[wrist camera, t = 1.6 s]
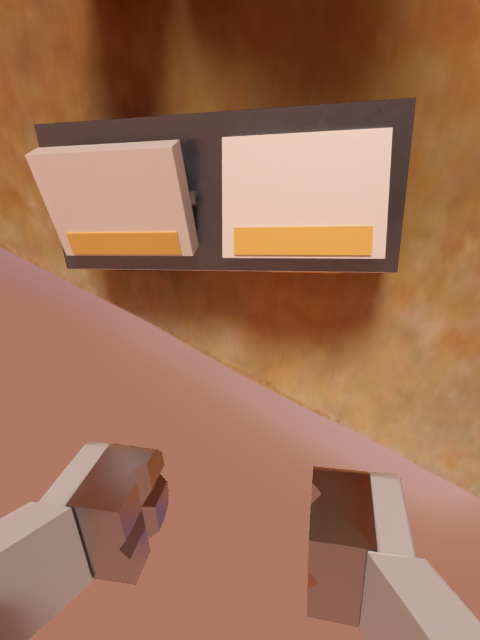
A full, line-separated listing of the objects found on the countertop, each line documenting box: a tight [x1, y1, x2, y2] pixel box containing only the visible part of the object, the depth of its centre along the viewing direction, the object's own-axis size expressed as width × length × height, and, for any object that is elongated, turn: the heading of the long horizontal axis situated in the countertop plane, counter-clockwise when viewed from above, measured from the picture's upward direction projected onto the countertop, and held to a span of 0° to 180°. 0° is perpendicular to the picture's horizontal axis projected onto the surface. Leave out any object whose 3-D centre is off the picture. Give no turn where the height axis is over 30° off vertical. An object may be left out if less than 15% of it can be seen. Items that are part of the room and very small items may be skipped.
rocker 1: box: [25, 140, 199, 256], centre depth 27 cm, size 10×7×2 cm
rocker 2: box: [222, 127, 393, 259], centre depth 24 cm, size 10×7×2 cm
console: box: [34, 98, 416, 273], centre depth 29 cm, size 24×10×7 cm, turn 93°
